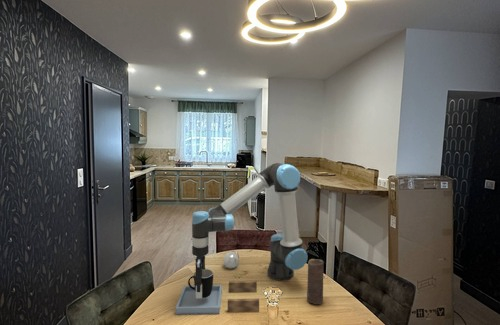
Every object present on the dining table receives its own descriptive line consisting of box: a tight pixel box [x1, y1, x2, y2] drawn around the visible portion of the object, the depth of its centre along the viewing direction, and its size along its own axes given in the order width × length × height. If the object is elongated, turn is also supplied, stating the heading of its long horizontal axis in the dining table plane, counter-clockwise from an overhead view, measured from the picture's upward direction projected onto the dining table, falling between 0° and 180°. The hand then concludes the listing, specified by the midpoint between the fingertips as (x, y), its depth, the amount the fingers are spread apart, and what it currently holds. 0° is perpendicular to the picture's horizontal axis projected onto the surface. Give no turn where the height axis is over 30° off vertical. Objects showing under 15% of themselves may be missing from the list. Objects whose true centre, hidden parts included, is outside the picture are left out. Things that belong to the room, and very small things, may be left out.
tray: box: [175, 284, 223, 316], centre depth 128 cm, size 19×19×3 cm
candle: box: [306, 258, 325, 305], centre depth 128 cm, size 8×7×20 cm
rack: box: [227, 280, 260, 313], centre depth 129 cm, size 14×18×5 cm
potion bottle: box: [222, 250, 240, 270], centre depth 167 cm, size 9×10×15 cm
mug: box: [187, 268, 214, 298], centre depth 128 cm, size 12×9×10 cm
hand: (200, 292), depth 128 cm, fingers closed on mug, 9 cm apart
